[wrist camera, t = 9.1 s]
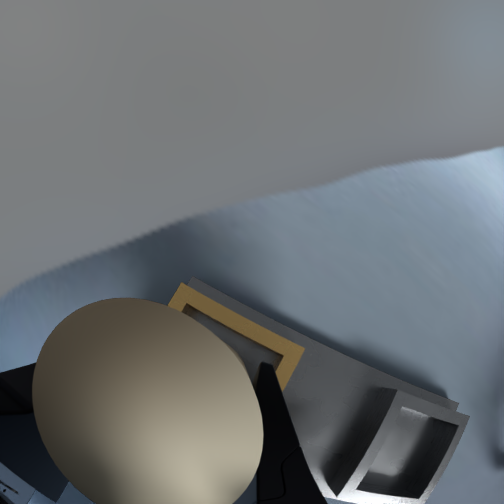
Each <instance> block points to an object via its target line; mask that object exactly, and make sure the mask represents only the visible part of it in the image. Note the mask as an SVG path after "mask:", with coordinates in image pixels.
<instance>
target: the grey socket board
mask: <svg viewBox="0 0 504 504" xmlns="http://www.w3.org/2000/svg"><path fill="white" fill-rule="evenodd" d="M168 306H169V307H171V308H174V309H176V310H178V311H180V312H182V313H184V314H186V315H188V316H189V317H191V318H193V319H194V320H196V321H197V322H199V323H200V324H201V325H203V326H204V327H206V328H207V329H208V330H210V331H211V332H212V333H213V334H215V335H216V336H217V337H219V338H220V339H221V340H222V341H224V342H225V343H226V344H228V345H229V346H230V347H232V348H233V349H234V350H235V351H236V352H237V353H238V354H239V356H240V357H241V358H242V360H243V362H244V365H245V367H246V370H247V373H248V376H249V378H250V381H251V384H253V380H254V377H255V375H256V372H257V369H258V367H259V364H260V362H266V363H270V364H272V365H273V366H274V369H275V372H276V375H277V378H278V381H279V384H280V387H281V390H282V393H283V396H284V399H285V402H286V405H287V408H288V410H289V413H290V416H291V419H292V422H293V425H294V428H295V431H296V434H297V437H298V439H299V442H300V446H301V448H302V451H303V454H304V456H305V459H306V461H307V464H308V466H309V469H310V471H311V473H312V475H313V477H314V479H315V481H316V483H317V485H318V487H319V489H320V491H321V492H322V494H323V496H325V497H329V498H333V499H338V500H342V501H347V502H352V503H358V504H424V503H425V502H426V500H427V499H428V497H429V496H430V494H431V492H432V491H433V489H434V488H435V486H436V484H437V483H438V481H439V479H440V477H441V476H442V474H443V472H444V470H445V469H446V467H447V465H448V463H449V461H450V459H451V457H452V455H453V453H454V451H455V449H456V447H457V445H458V443H459V441H460V439H461V436H462V434H463V432H464V429H465V427H466V425H467V422H468V420H469V417H470V416H468V415H465V414H462V413H459V412H456V410H457V407H458V405H459V403H457V402H455V401H452V400H450V399H447V398H444V397H442V396H439V395H437V394H434V393H432V392H429V391H427V390H424V389H422V388H419V387H417V386H415V385H412V384H410V383H407V382H405V381H403V380H400V379H398V378H396V377H393V376H391V375H389V374H386V373H384V372H382V371H380V370H377V369H375V368H373V367H371V366H368V365H366V364H364V363H362V362H360V361H357V360H355V359H353V358H351V357H349V356H347V355H344V354H342V353H340V352H338V351H336V350H334V349H332V348H330V347H327V346H325V345H323V344H321V343H319V342H317V341H315V340H313V339H311V338H309V337H307V336H305V335H303V334H301V333H299V332H297V331H295V330H293V329H291V328H289V327H287V326H285V325H283V324H281V323H279V322H277V321H275V320H273V319H271V318H269V317H267V316H265V315H263V314H261V313H260V312H258V311H256V310H254V309H252V308H250V307H248V306H246V305H244V304H243V303H241V302H239V301H237V300H235V299H233V298H231V297H230V296H228V295H226V294H224V293H222V292H220V291H219V290H217V289H215V288H213V287H211V286H210V285H208V284H206V283H204V282H202V281H201V280H199V279H197V278H195V277H194V276H192V277H191V279H190V281H189V282H188V284H187V285H185V284H184V283H182V282H181V284H180V286H179V287H178V289H177V291H176V292H175V294H174V296H173V297H172V299H171V301H170V302H169V304H168Z"/></svg>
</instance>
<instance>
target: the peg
mask: <svg viewBox="0 0 504 504" xmlns="http://www.w3.org/2000/svg"><path fill="white" fill-rule="evenodd" d="M32 400H33V408H34V415H35V419H36V423H37V427H38V430H39V433H40V435H41V438H42V441H43V443H44V445H45V447H46V449H47V451H48V453H49V455H50V456H51V458H52V459H53V461H54V463H55V464H56V466H57V467H58V468H59V470H60V471H61V472H62V473H63V475H64V476H65V477H66V478H67V479H68V480H69V481H70V482H71V483H72V484H73V485H74V487H75V488H77V489H78V490H79V491H80V492H81V493H82V494H84V495H85V496H86V497H87V498H89V499H90V500H92V501H93V502H94V503H96V504H232V503H234V502H235V501H236V500H237V499H238V498H239V497H240V496H241V495H242V494H243V492H244V491H245V490H246V489H247V487H248V486H249V484H250V482H251V481H252V479H253V477H254V475H255V473H256V470H257V468H258V465H259V462H260V458H261V453H262V448H263V423H262V416H261V411H260V407H259V403H258V400H257V397H256V394H255V392H254V389H253V386H252V384H251V381H250V378H249V376H248V373H247V370H246V367H245V365H244V362H243V360H242V358H241V357H240V356H239V354H238V353H237V352H236V351H235V350H234V349H233V348H232V347H230V346H229V345H228V344H226V343H225V342H224V341H222V340H221V339H220V338H219V337H217V336H216V335H215V334H213V333H212V332H211V331H210V330H208V329H207V328H206V327H204V326H203V325H201V324H200V323H199V322H197V321H196V320H194V319H193V318H191V317H189V316H188V315H186V314H184V313H182V312H180V311H178V310H176V309H174V308H171V307H169V306H166V305H163V304H161V303H157V302H153V301H149V300H145V299H136V298H112V299H106V300H101V301H97V302H94V303H91V304H88V305H86V306H84V307H82V308H80V309H78V310H76V311H74V312H73V313H72V314H70V315H69V316H67V317H66V318H65V319H64V320H63V321H62V322H60V323H59V324H58V325H57V326H56V327H55V329H54V330H53V331H52V333H51V334H50V335H49V336H48V338H47V340H46V342H45V343H44V345H43V347H42V349H41V351H40V354H39V356H38V359H37V362H36V366H35V370H34V376H33V384H32Z"/></svg>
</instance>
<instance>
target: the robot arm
mask: <svg viewBox="0 0 504 504" xmlns="http://www.w3.org/2000/svg"><path fill="white" fill-rule="evenodd" d="M35 366H36V363H33V364H30V365H27V366H23V367H19V368H16V369H12V370H9V371H5V372H1V373H0V504H28V502H29V500H30V499H31V497H32V495H33V494H34V492H35V490H37V491H39V492H40V493H42V494H43V495H45V496H46V497H48V498H49V499H51V500H53V501H54V502H57V501H58V499H59V497H60V496H61V494H62V492H63V490H64V489H65V487H66V485H67V484H68V482H69V480H68V479H67V478H66V477H65V476H64V475H63V473H62V472H61V471H60V470H59V468H58V467H57V466H56V464H55V463H54V461H53V459H52V458H51V456H50V455H49V453H48V451H47V449H46V447H45V445H44V443H43V441H42V438H41V435H40V433H39V430H38V427H37V423H36V419H35V415H34V408H33V400H32V384H33V376H34V370H35ZM252 386H253V389H254V392H255V394H256V397H257V400H258V403H259V407H260V411H261V416H262V423H263V448H262V453H261V458H260V462H259V465H258V468H257V470H256V473H255V475H254V477H253V479H252V481H251V482H250V484H249V486H248V487H247V489H246V490H245V491H244V492H243V494H242V495H241V496H240V497H239V498H238V499H237V500H236V501H235V502H234V503H232V504H328V503H327V502H326V500H325V498H324V496H323V494H322V492H321V491H320V489H319V487H318V485H317V483H316V481H315V479H314V477H313V475H312V473H311V471H310V469H309V466H308V464H307V461H306V459H305V456H304V454H303V451H302V448H301V446H300V442H299V439H298V437H297V434H296V431H295V428H294V425H293V422H292V419H291V416H290V413H289V410H288V408H287V405H286V402H285V399H284V396H283V393H282V390H281V387H280V384H279V381H278V378H277V375H276V372H275V369H274V366H273V365H272V364H270V363H266V362H260V364H259V367H258V369H257V372H256V375H255V377H254V380H253V384H252Z"/></svg>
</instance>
